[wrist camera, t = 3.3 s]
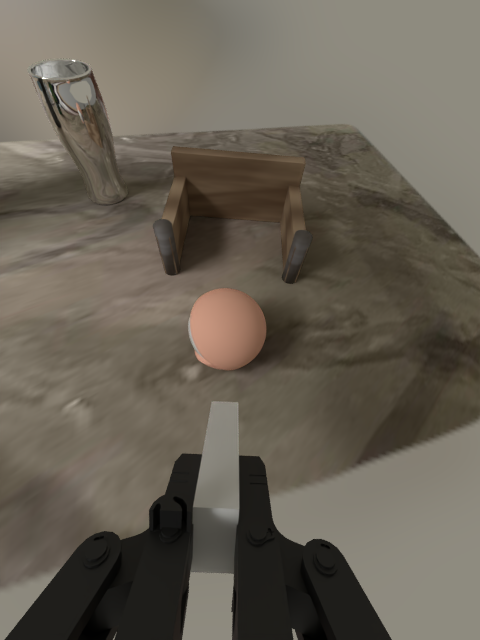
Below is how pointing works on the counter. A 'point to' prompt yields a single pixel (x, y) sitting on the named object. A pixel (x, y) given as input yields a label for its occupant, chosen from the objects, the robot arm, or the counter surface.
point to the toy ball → (226, 329)
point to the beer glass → (80, 124)
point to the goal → (234, 200)
